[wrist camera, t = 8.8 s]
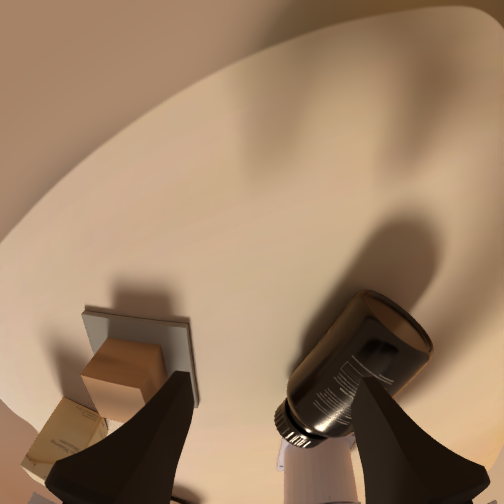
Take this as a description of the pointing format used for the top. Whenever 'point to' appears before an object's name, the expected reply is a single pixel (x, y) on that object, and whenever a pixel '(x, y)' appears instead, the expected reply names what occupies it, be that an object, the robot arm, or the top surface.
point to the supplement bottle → (351, 368)
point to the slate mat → (145, 338)
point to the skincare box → (63, 437)
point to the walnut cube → (124, 377)
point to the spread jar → (176, 501)
